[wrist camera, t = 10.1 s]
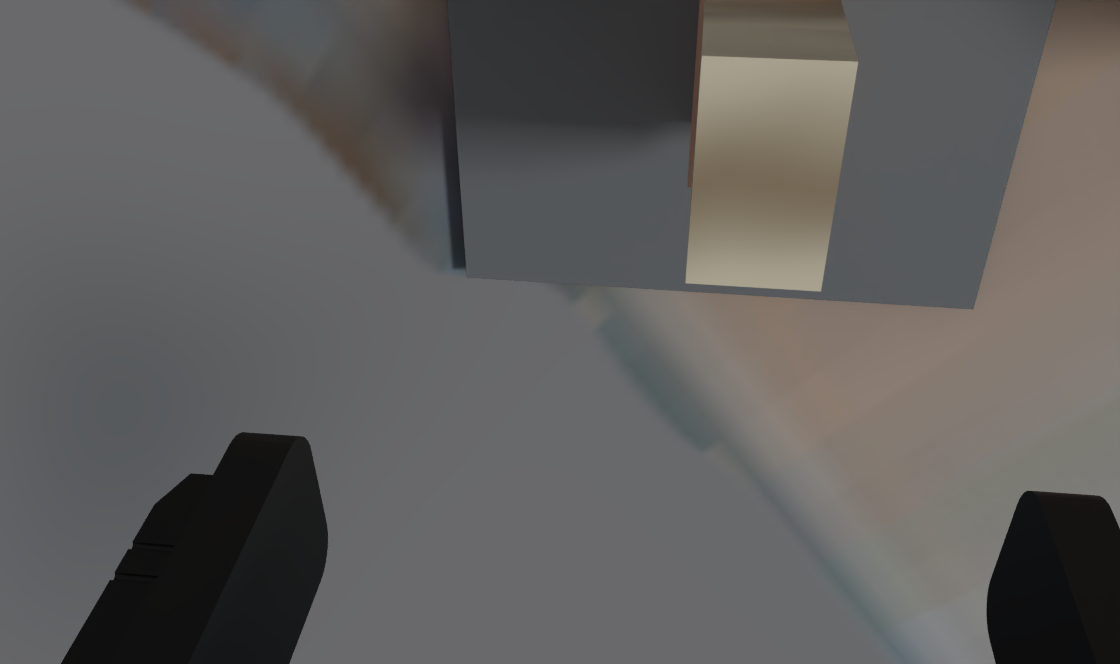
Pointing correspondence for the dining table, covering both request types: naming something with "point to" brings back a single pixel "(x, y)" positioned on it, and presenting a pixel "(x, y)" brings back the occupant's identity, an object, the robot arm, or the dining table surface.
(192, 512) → the robot arm
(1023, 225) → the dining table surface
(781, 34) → the maple brick
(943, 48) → the charcoal mat
